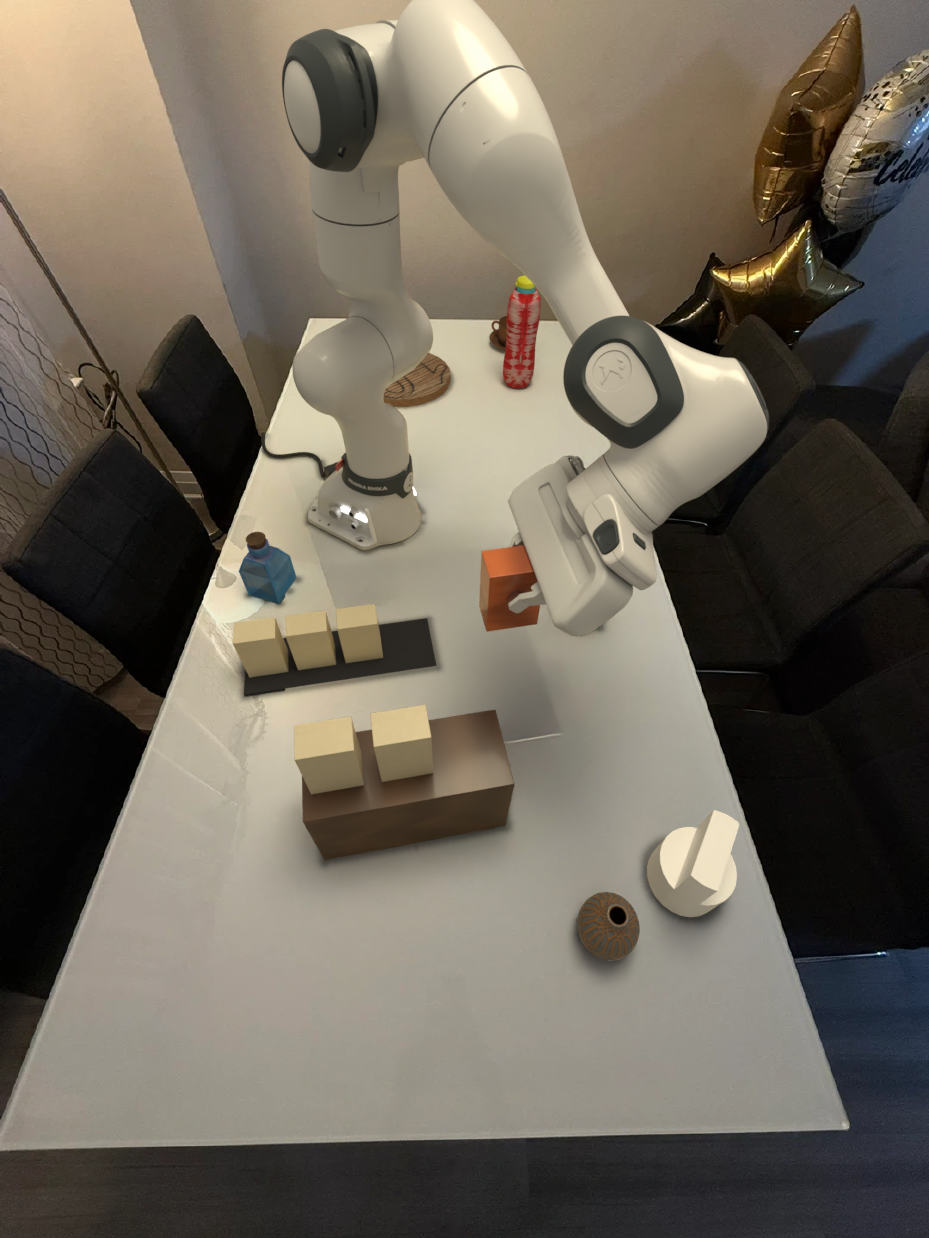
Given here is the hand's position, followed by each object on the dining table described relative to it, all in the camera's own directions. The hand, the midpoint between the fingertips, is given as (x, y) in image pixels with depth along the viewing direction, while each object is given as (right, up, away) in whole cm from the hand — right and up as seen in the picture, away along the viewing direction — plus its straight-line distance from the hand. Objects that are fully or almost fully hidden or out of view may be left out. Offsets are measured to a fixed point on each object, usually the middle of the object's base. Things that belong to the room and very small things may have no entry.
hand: (505, 588), depth 64 cm
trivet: (-21, +58, +85) cm, 105 cm away
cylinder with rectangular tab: (+23, -37, +10) cm, 45 cm away
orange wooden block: (+1, -3, +4) cm, 5 cm away
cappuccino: (+42, +89, +111) cm, 148 cm away
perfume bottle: (-39, +2, +40) cm, 56 cm away
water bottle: (+9, +58, +86) cm, 104 cm away
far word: (-25, -9, +31) cm, 41 cm away
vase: (+12, -41, +6) cm, 43 cm away
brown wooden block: (-12, -29, +15) cm, 35 cm away
